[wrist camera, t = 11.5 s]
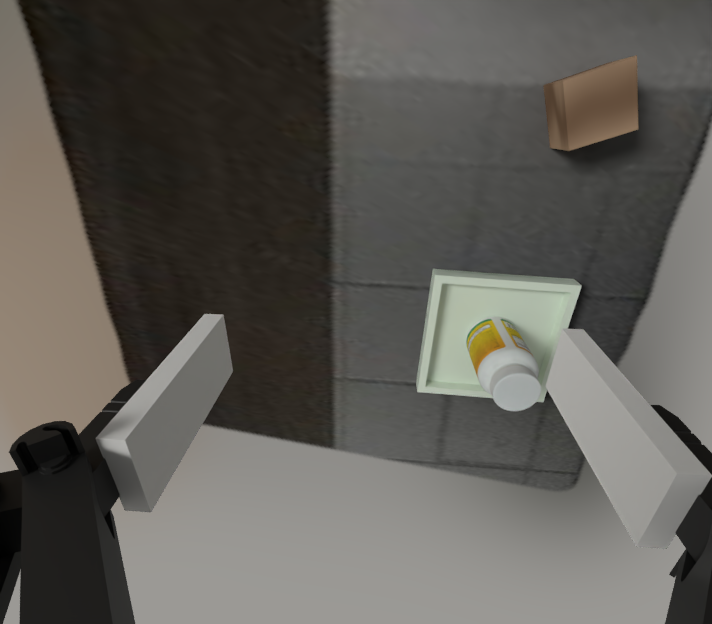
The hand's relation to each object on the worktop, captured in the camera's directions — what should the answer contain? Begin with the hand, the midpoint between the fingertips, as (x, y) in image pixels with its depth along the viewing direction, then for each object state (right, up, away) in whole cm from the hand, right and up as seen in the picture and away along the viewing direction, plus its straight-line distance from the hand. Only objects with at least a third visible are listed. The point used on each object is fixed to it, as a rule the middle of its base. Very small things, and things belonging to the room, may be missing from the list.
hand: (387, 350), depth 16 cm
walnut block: (+17, +19, +17) cm, 31 cm away
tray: (+13, -1, +27) cm, 30 cm away
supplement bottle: (+13, -1, +26) cm, 30 cm away
